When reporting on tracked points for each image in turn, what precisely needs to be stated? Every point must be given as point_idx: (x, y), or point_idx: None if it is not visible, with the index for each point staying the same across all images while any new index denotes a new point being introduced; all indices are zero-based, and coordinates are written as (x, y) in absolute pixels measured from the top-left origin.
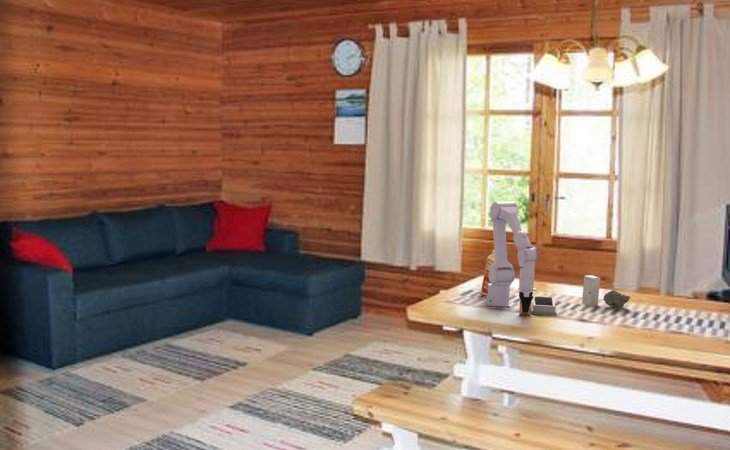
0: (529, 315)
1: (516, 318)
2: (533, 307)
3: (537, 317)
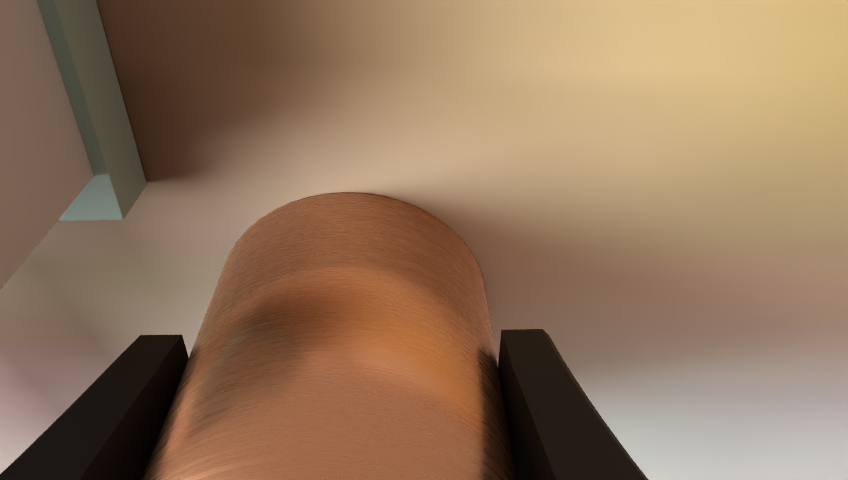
0: (450, 237)
1: (675, 426)
2: (36, 238)
3: (525, 31)
